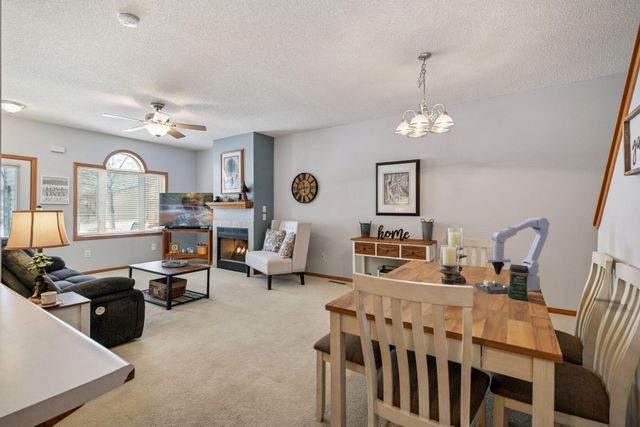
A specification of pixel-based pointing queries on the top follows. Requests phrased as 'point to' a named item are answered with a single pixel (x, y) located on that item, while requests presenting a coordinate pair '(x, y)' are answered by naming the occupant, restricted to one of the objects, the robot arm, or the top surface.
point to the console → (493, 287)
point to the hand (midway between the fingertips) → (497, 274)
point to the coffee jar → (518, 282)
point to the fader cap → (487, 283)
